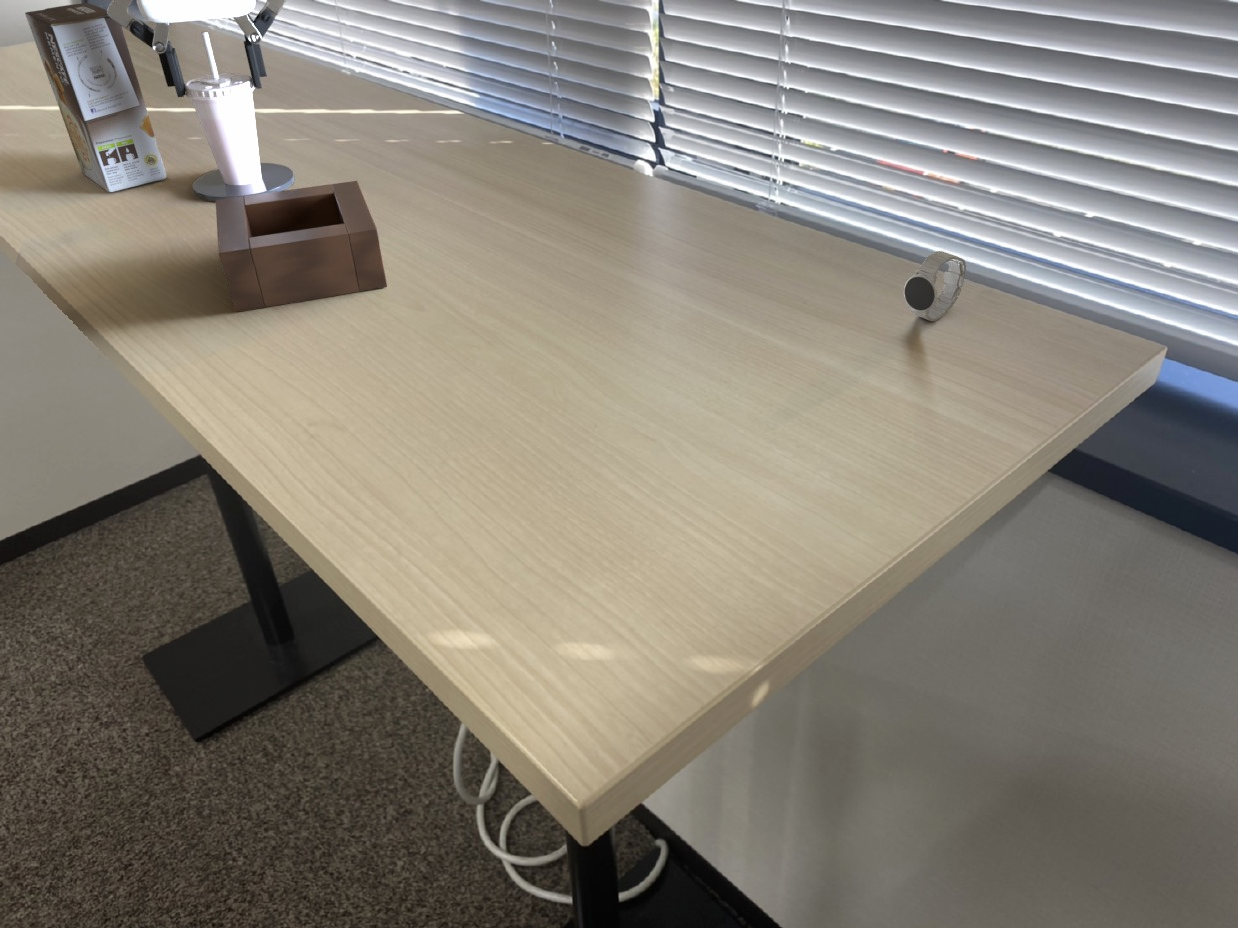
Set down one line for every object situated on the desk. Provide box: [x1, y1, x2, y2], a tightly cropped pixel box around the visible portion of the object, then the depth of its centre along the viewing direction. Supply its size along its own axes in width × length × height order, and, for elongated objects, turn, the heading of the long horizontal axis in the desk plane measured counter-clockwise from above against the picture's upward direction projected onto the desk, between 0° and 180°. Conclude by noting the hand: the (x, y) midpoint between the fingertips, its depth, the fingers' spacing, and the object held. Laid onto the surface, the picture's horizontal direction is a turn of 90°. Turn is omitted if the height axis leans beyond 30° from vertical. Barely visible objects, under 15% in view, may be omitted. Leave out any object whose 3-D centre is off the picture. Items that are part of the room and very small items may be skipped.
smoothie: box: [184, 31, 261, 185], centre depth 95 cm, size 6×6×14 cm
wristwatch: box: [903, 250, 967, 322], centre depth 72 cm, size 3×5×5 cm, turn 131°
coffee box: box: [24, 2, 168, 193], centre depth 98 cm, size 9×6×16 cm
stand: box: [215, 180, 388, 313], centre depth 81 cm, size 12×12×5 cm
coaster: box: [192, 162, 296, 203], centre depth 100 cm, size 10×10×1 cm
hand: (219, 87), depth 94 cm, fingers closed on smoothie, 6 cm apart
